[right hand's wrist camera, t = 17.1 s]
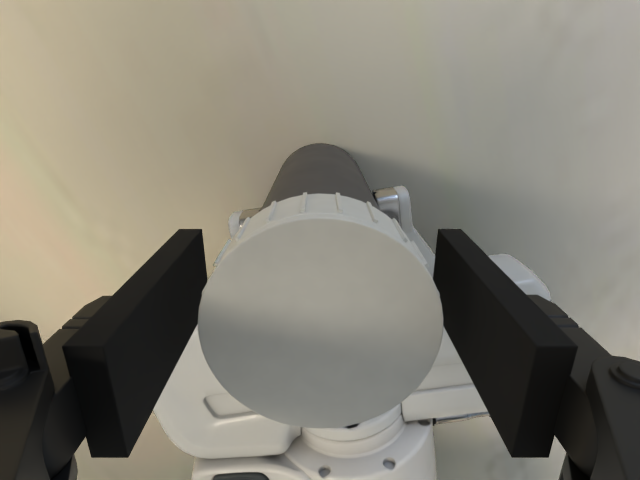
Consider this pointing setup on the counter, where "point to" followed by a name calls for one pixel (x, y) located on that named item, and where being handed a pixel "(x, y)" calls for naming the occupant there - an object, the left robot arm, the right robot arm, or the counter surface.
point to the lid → (320, 313)
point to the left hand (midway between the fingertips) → (316, 201)
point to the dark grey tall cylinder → (320, 175)
